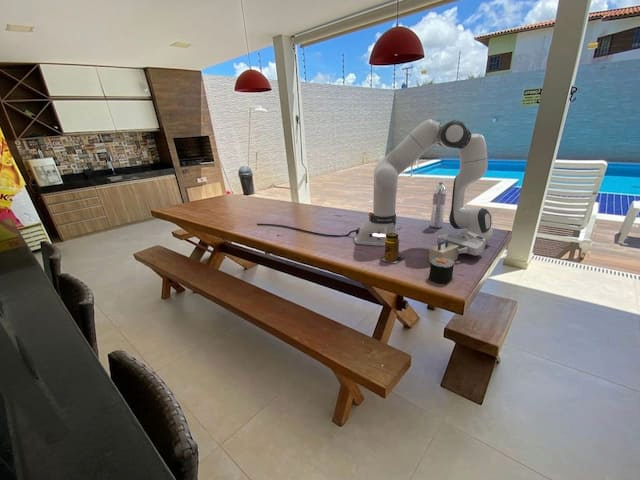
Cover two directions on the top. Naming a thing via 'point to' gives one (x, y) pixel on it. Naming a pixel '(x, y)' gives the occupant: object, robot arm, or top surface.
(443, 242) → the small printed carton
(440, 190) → the water bottle
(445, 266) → the sushi
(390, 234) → the condiment
